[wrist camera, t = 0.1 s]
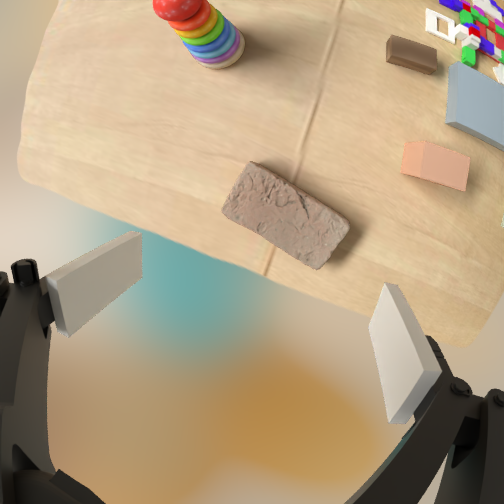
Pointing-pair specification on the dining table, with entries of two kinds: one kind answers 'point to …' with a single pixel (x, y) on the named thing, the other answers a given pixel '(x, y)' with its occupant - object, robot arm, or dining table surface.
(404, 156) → the terracotta block
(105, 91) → the dining table surface
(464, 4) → the building block set
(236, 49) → the stacking toy
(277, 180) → the brick
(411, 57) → the walnut block
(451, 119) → the base block
